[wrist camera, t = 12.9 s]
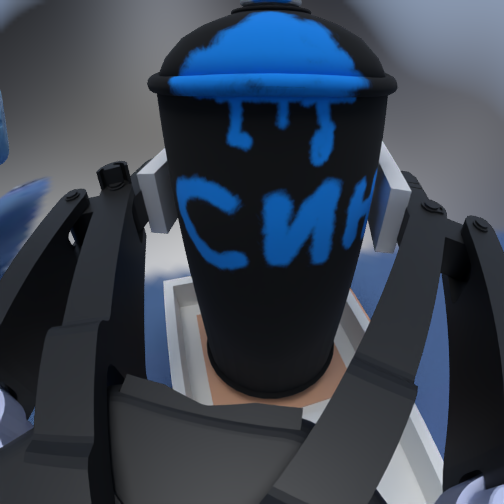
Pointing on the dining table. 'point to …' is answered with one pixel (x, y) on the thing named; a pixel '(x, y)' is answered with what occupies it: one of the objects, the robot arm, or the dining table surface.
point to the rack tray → (311, 400)
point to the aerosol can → (272, 183)
